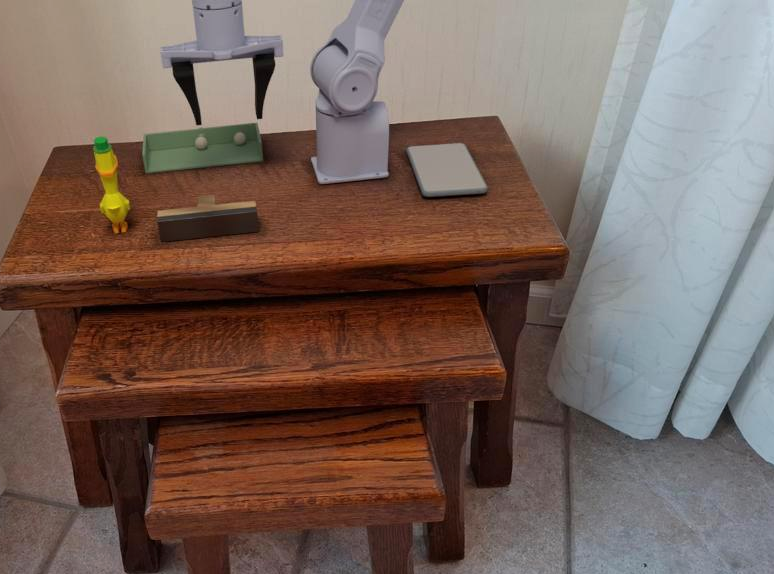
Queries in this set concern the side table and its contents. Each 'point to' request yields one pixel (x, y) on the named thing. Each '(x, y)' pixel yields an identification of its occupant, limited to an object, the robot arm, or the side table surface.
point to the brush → (207, 220)
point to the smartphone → (445, 170)
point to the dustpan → (197, 157)
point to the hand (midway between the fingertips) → (229, 119)
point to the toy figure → (110, 185)
